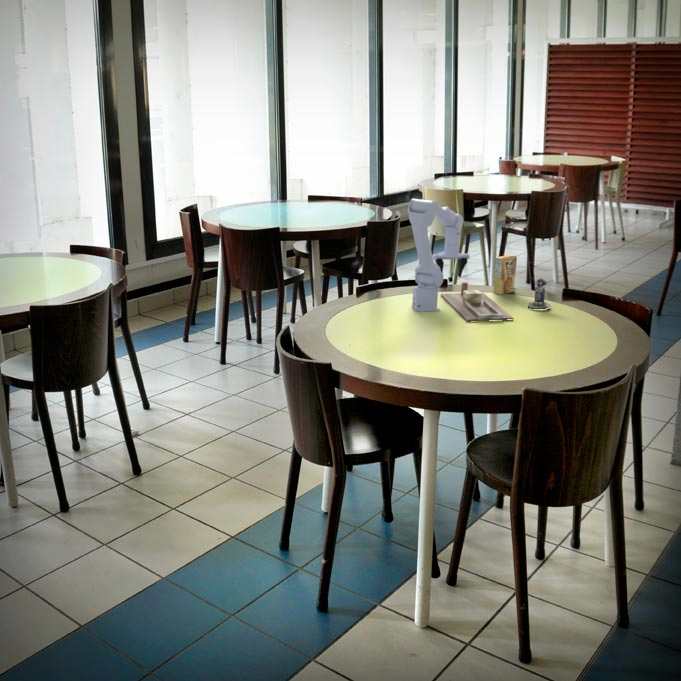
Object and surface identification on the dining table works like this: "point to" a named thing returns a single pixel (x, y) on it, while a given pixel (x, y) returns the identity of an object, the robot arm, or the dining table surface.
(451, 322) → the dining table surface
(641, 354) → the dining table surface
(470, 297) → the joystick
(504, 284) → the candy box
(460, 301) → the thin wooden panel
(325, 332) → the dining table surface
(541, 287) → the figurine
